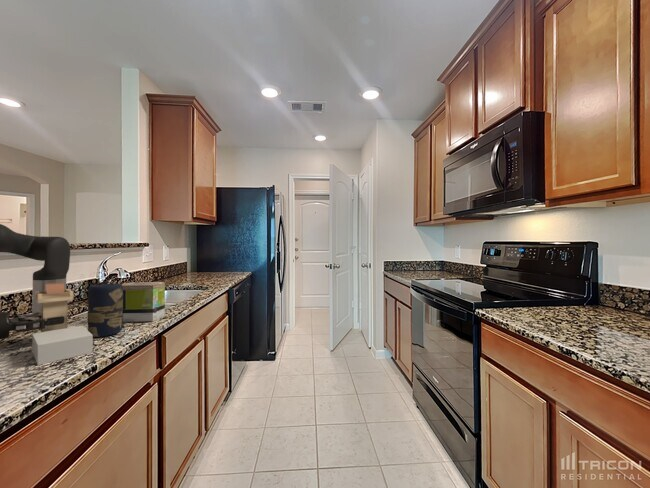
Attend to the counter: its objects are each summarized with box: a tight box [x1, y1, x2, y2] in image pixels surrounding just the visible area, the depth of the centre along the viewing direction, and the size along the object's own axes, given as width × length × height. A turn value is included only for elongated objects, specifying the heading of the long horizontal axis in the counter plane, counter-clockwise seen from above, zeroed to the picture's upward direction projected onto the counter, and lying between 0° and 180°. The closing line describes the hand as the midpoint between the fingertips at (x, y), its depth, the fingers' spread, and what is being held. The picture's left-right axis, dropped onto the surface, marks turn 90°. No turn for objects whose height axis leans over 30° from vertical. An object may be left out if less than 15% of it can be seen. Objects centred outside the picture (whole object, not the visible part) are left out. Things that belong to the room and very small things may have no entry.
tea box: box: [121, 281, 166, 323], centre depth 117 cm, size 15×10×15 cm, turn 93°
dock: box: [31, 325, 94, 366], centre depth 81 cm, size 14×11×5 cm
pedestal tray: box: [35, 288, 74, 332], centre depth 91 cm, size 8×8×16 cm
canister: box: [87, 281, 124, 338], centre depth 98 cm, size 10×10×18 cm
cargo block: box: [45, 283, 64, 294], centre depth 91 cm, size 4×4×4 cm
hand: (61, 317), depth 92 cm, fingers open, 8 cm apart
